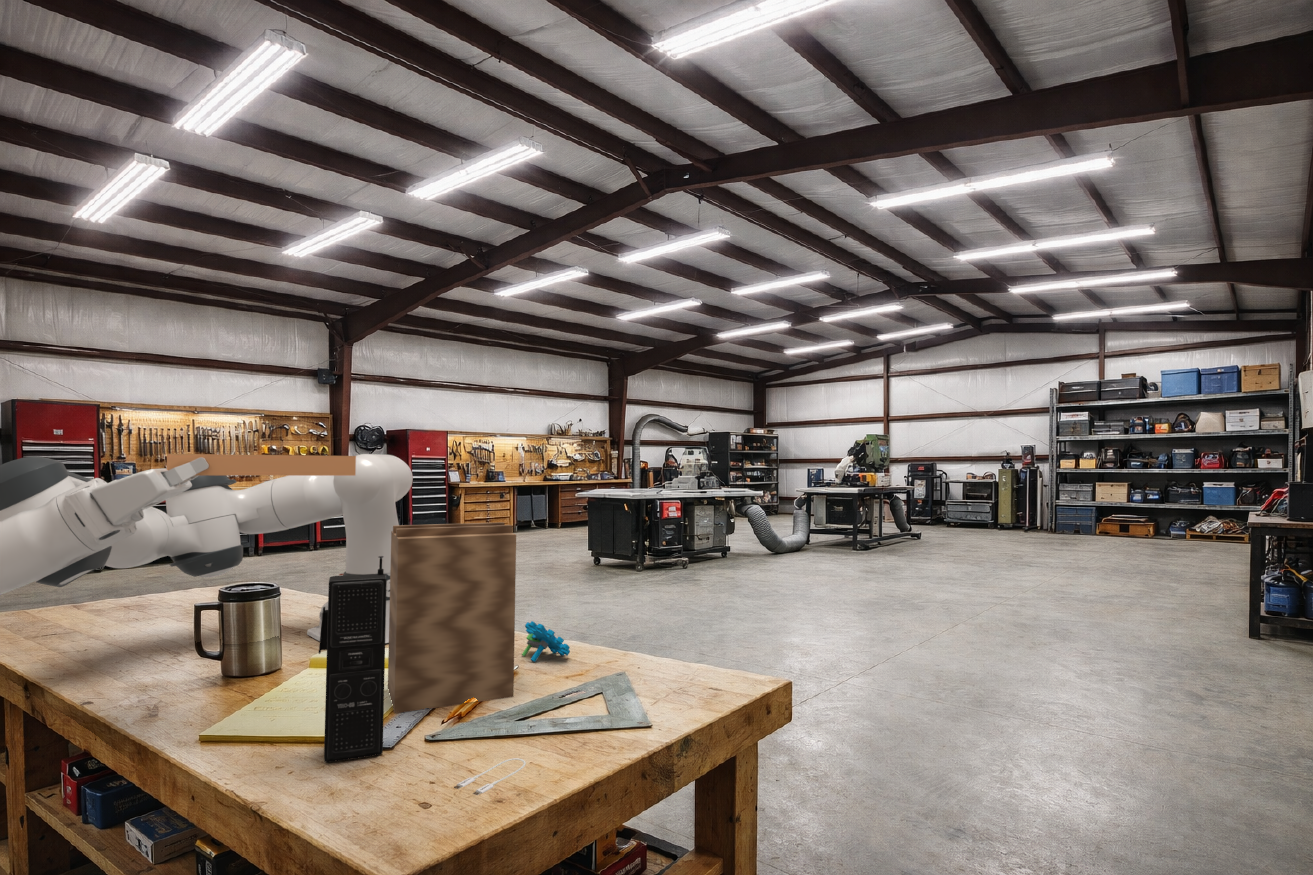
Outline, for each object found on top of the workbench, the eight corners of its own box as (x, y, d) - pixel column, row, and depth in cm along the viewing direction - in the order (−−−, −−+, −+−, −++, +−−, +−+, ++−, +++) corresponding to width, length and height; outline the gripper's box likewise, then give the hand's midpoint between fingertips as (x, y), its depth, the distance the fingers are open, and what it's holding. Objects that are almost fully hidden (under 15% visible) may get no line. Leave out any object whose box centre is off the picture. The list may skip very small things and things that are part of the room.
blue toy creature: (581, 652, 131) (547, 619, 128) (564, 679, 128) (528, 646, 124) (550, 647, 140) (517, 616, 136) (533, 673, 136) (499, 642, 133)
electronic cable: (452, 789, 80) (452, 785, 80) (510, 758, 89) (510, 754, 89) (478, 798, 78) (478, 794, 78) (534, 765, 87) (534, 761, 87)
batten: (166, 475, 95) (167, 453, 95) (170, 474, 98) (171, 453, 98) (355, 475, 106) (355, 455, 106) (354, 475, 108) (355, 456, 109)
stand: (394, 713, 103) (398, 530, 104) (387, 689, 114) (391, 524, 115) (513, 696, 111) (516, 527, 112) (496, 675, 122) (499, 521, 123)
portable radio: (314, 767, 85) (320, 563, 86) (317, 748, 90) (322, 557, 91) (383, 756, 88) (387, 560, 89) (381, 739, 94) (386, 554, 94)
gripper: (135, 524, 103) (230, 478, 109) (94, 539, 85) (211, 483, 90) (111, 488, 102) (208, 443, 108) (63, 495, 84) (184, 440, 89)
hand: (209, 461), depth 99 cm, fingers closed on batten, 3 cm apart
